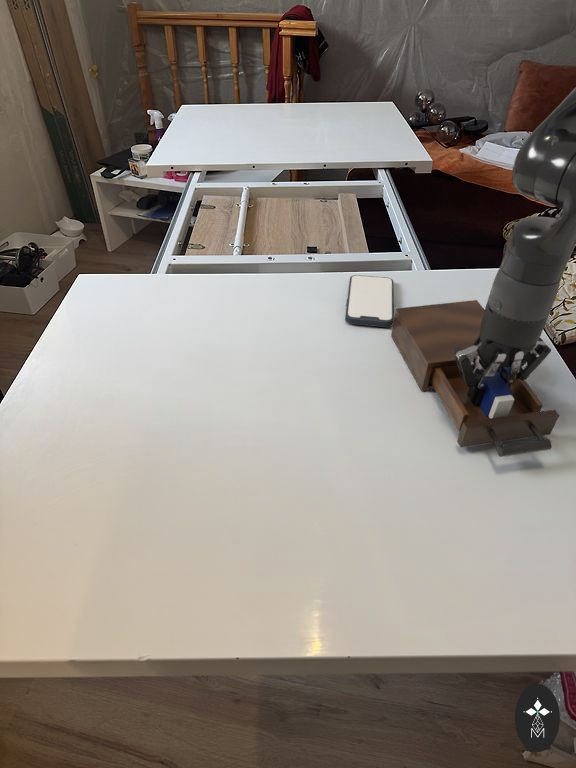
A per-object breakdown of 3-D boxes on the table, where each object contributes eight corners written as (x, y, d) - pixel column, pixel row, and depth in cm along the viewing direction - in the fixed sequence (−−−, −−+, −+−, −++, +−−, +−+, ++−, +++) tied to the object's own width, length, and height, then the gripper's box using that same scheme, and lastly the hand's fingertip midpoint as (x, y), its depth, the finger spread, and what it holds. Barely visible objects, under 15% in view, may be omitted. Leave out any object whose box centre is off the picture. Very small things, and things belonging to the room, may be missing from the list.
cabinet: (508, 380, 85) (519, 352, 81) (421, 391, 83) (428, 363, 79) (469, 327, 96) (476, 299, 92) (390, 335, 94) (395, 308, 90)
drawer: (567, 457, 72) (577, 437, 70) (473, 471, 70) (481, 452, 68) (504, 372, 85) (511, 354, 83) (424, 383, 83) (428, 364, 81)
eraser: (486, 389, 81) (494, 367, 78) (507, 419, 76) (516, 397, 73) (469, 391, 80) (476, 369, 77) (489, 422, 75) (497, 400, 73)
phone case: (349, 280, 108) (343, 325, 96) (349, 273, 107) (344, 317, 95) (393, 284, 107) (393, 329, 95) (394, 277, 106) (394, 322, 94)
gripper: (553, 281, 71) (515, 378, 83) (455, 291, 69) (430, 389, 81) (587, 313, 65) (541, 412, 77) (481, 324, 64) (450, 424, 75)
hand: (484, 400), depth 79 cm, fingers closed on drawer, marker, 3 cm apart
